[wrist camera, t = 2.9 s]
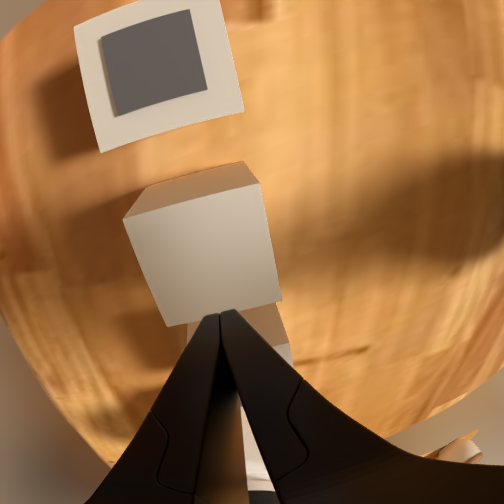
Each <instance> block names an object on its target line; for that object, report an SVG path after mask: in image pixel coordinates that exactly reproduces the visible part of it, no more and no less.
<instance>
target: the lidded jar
mask: <svg viewBox="0 0 504 504" xmlns="http://www.w3.org/2000/svg"><path fill="white" fill-rule="evenodd" d="M438 454H439V455H438V458H437V459H438V460H445V461H453V462H461V463H471V464H476V463H477V462H478V461H479V460H480V459H481V458H482V457H483V453H481V451H480V449H479V448H478V446H477V445H476V444H475V443H474V442H472V441H471V440H468V439H461V438H458V439H456V440H454V441H452V442H451V443H449V444H448V445H447V446H445V447H444V448H443V449H442V450H441V451H440V452H439V453H438Z"/></svg>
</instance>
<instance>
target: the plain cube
mask: <svg viewBox="0 0 504 504" xmlns="http://www.w3.org/2000/svg"><path fill="white" fill-rule="evenodd" d="M122 220H123V223H124V226H125V229H126V231H127V234H128V237H129V239H130V242H131V245H132V247H133V250H134V252H135V255H136V257H137V260H138V262H139V265H140V267H141V270H142V272H143V274H144V277H145V279H146V282H147V284H148V286H149V289H150V291H151V293H152V295H153V298H154V300H155V302H156V304H157V307H158V309H159V311H160V313H161V315H162V318H163V320H164V322H165V324H166V326H167V327H171V326H176V325H180V324H185V323H190V322H194V321H199V320H202V318H203V317H204V316H205V315H209V314H214V313H219V314H220V313H221V312H222V311H226V310H230V309H236V310H237V311H242V310H246V309H250V308H254V307H258V306H262V305H266V304H270V303H274V302H278V301H282V296H281V291H280V285H279V280H278V274H277V269H276V264H275V258H274V253H273V248H272V243H271V237H270V232H269V227H268V222H267V217H266V212H265V207H264V202H263V197H262V192H261V187H260V183H259V181H258V180H257V179H256V177H255V176H254V175H253V173H252V172H251V170H250V169H249V168H248V166H247V165H246V164H245V162H244V161H241V162H237V163H233V164H228V165H224V166H220V167H216V168H212V169H208V170H204V171H200V172H196V173H193V174H189V175H185V176H181V177H178V178H174V179H171V180H167V181H164V182H160V183H157V184H153V185H150V186H147V187H146V188H145V190H144V191H143V192H142V194H141V195H140V196H139V197H138V199H137V200H136V201H135V203H134V204H133V205H132V207H131V208H130V209H129V211H128V212H127V214H126V215H125V216H124V218H123V219H122Z"/></svg>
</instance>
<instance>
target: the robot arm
mask: <svg viewBox="0 0 504 504" xmlns="http://www.w3.org/2000/svg"><path fill="white" fill-rule="evenodd" d="M240 400H241V403H242V406H243V409H244V412H245V414H246V417H247V420H248V423H249V425H250V428H251V431H252V434H253V436H254V439H255V442H256V444H257V447H258V449H259V452H260V455H261V457H262V460H263V462H264V465H265V467H266V470H267V473H268V475H269V478H270V480H271V482H272V484H273V487H274V490H275V492H276V495H277V497H278V500H279V502H280V504H504V466H501V465H483V464H471V463H461V462H453V461H445V460H438V459H431V458H425V457H421V456H417V455H414V454H411V453H409V452H406V451H404V450H402V449H400V448H398V447H396V446H394V445H393V444H391V443H389V442H388V441H386V440H385V439H383V438H381V437H380V436H378V435H377V434H375V433H374V432H372V431H371V430H369V429H367V428H366V427H364V426H363V425H361V424H360V423H358V422H357V421H355V420H354V419H352V418H351V417H349V416H348V415H346V414H345V413H344V412H342V411H341V410H340V409H338V408H337V407H336V406H334V405H333V404H332V403H330V402H329V401H328V400H327V399H326V398H324V397H323V396H322V395H321V394H320V393H319V392H318V391H317V390H315V389H314V388H313V387H312V386H311V385H310V384H309V383H308V382H307V381H306V380H304V379H303V377H302V376H301V375H300V374H299V373H298V372H297V371H296V370H295V369H294V368H293V367H292V366H291V365H290V364H289V363H288V362H287V361H286V360H285V359H284V358H283V357H282V356H281V355H280V354H279V353H278V352H277V351H276V350H275V349H274V348H273V347H272V346H271V345H270V344H269V343H268V342H267V341H266V340H265V339H264V338H263V337H262V336H261V335H260V334H259V333H258V332H257V331H256V330H255V329H254V328H253V327H252V326H251V325H250V324H249V323H248V322H247V321H246V320H245V319H244V317H243V316H242V315H241V314H240V313H239V312H238V311H237V310H236V309H230V310H226V311H222V312H221V313H220V314H219V313H214V314H209V315H205V316H204V317H203V318H202V320H201V322H200V324H199V325H198V327H197V329H196V331H195V332H194V334H193V336H192V337H191V339H190V341H189V343H188V344H187V346H186V348H185V350H184V351H183V353H182V355H181V357H180V358H179V360H178V362H177V364H176V365H175V367H174V369H173V371H172V372H171V374H170V376H169V378H168V379H167V381H166V383H165V385H164V386H163V388H162V390H161V392H160V393H159V395H158V397H157V399H156V400H155V402H154V404H153V406H152V407H151V411H150V412H148V414H147V416H146V418H145V419H144V421H143V423H142V425H141V426H140V428H139V430H138V431H137V433H136V435H135V436H134V438H133V439H132V441H131V442H130V444H129V445H128V447H127V448H126V450H125V451H124V453H123V454H122V455H121V457H120V458H119V460H118V461H117V462H116V464H115V465H114V466H113V468H112V469H111V471H110V472H109V473H108V475H107V476H106V477H105V479H104V480H103V482H102V483H101V484H100V485H99V487H98V488H97V489H96V491H95V492H94V493H93V495H92V496H91V497H90V498H89V499H88V500H87V501H86V502H85V503H84V504H249V495H248V485H247V475H246V464H245V453H244V442H243V431H242V419H241V406H240Z"/></svg>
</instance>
